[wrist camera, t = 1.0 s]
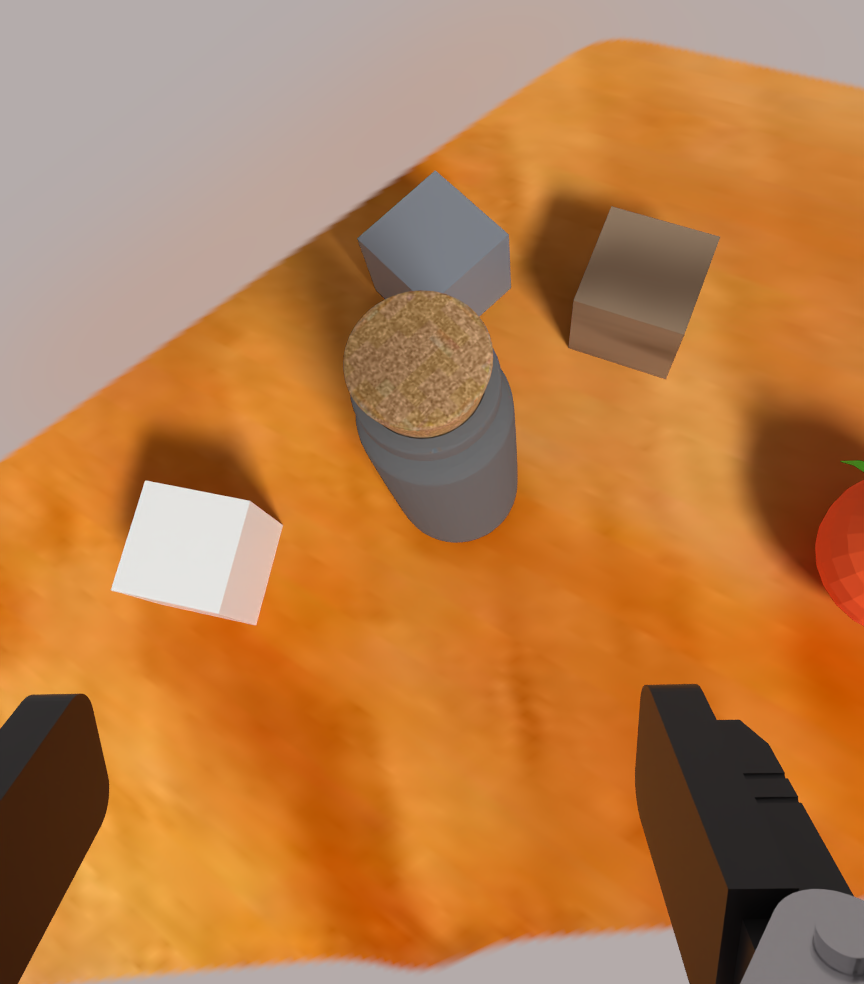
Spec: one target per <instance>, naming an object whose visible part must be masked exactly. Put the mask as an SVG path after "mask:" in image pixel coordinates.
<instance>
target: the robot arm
mask: <svg viewBox="0 0 864 984" xmlns="http://www.w3.org/2000/svg"><path fill="white" fill-rule="evenodd" d="M635 787H636V798H637V805H638V811H639V815H640V819H641V823H642V826H643V829H644V833H645V836H646V839H647V843H648V846H649V850H650V853H651V856H652V860H653V863H654V866H655V870H656V873H657V876H658V880H659V883H660V886H661V890H662V893H663V896H664V900H665V903H666V906H667V910H668V913H669V917H670V920H671V923H672V927H673V930H674V933H675V936H676V940H677V943H678V947H679V950H680V953H681V957H682V960H683V963H684V967H685V970H686V973H687V976H688V980H689V983H690V984H864V901H863V900H861V899H859V898H856V897H854V895H853V894H852V892H851V890H850V889H849V887H848V885H847V883H846V881H845V880H844V878H843V876H842V874H841V872H840V871H839V869H838V867H837V865H836V864H835V862H834V860H833V858H832V856H831V855H830V853H829V851H828V849H827V848H826V846H825V844H824V842H823V840H822V839H821V837H820V835H819V833H818V831H817V830H816V828H815V826H814V824H813V823H812V821H811V819H810V817H809V815H808V814H807V812H806V810H805V808H804V806H803V805H802V803H799V802H798V796H797V794H796V792H795V790H794V789H793V787H792V785H791V783H790V782H789V780H788V779H785V773H784V771H783V769H782V767H781V765H780V764H779V762H778V760H777V758H776V757H775V755H774V753H773V751H772V749H771V748H770V746H769V744H768V743H767V742H765V741H764V740H763V739H762V738H761V737H759V736H758V735H757V734H756V733H755V732H754V731H752V730H751V729H750V728H749V727H748V726H746V725H745V724H744V723H743V722H742V721H740V720H716V718H715V716H714V714H713V712H712V710H711V708H710V705H709V703H708V701H707V699H706V697H705V695H704V693H703V691H702V689H701V688H700V686H699V685H697V684H673V685H644V686H643V688H642V692H641V699H640V712H639V726H638V739H637V753H636V767H635ZM108 799H109V779H108V774H107V770H106V765H105V761H104V756H103V752H102V747H101V743H100V738H99V734H98V729H97V725H96V721H95V716H94V712H93V708H92V704H91V702H90V700H89V698H88V697H87V696H86V695H84V694H47V695H30V696H28V697H26V698H25V699H24V700H23V701H22V702H21V704H20V705H19V706H18V707H17V709H16V710H15V711H14V712H13V714H12V715H11V716H10V717H9V719H8V720H7V721H6V722H5V724H4V725H3V726H2V727H1V729H0V984H18V982H19V980H20V978H21V977H22V975H23V973H24V971H25V969H26V967H27V965H28V963H29V961H30V960H31V958H32V956H33V954H34V952H35V950H36V948H37V946H38V944H39V942H40V941H41V939H42V937H43V935H44V933H45V931H46V929H47V927H48V925H49V923H50V922H51V920H52V918H53V916H54V914H55V912H56V910H57V908H58V906H59V904H60V903H61V901H62V899H63V897H64V895H65V893H66V891H67V889H68V887H69V886H70V884H71V882H72V880H73V878H74V876H75V874H76V872H77V870H78V868H79V867H80V865H81V863H82V861H83V859H84V857H85V855H86V853H87V851H88V849H89V848H90V846H91V844H92V842H93V840H94V838H95V836H96V834H97V832H98V830H99V829H100V827H101V825H102V822H103V820H104V817H105V814H106V810H107V805H108Z"/></svg>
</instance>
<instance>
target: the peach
mask: <svg viewBox="0 0 864 984" xmlns="http://www.w3.org/2000/svg"><path fill="white" fill-rule="evenodd" d="M840 462H843V463H847V464H850V465H854V466H855V467H857V468H858V469H860V470H861V471H863V472H864V461H860V460H855V461H840ZM815 552H816V566H817V569H818V572H819V574H820V577H821V580H822V583H823V586H824V587H825V589H826V590H827V592H828V593H829V595H830V596H831V598H832V599H833V601H834V602H835V604H836V605H837V606H838V607H839V608H840V609H841V610H842V611H844V612H845V613H846V614H847V615H848V616H849V617H850V618H851V619H852V620H854V621H855V622H857V623H859V624H861V625H863V626H864V480H862V481H860V482H858V483H857V484H855V485H853V486H851V487H849V488H848V489H847V490H846V491H845V492H844V493H843V494H842V495H841V496H840V497H839V498H838V499H837V500H836V501H835V502H834V503H833V504H832V505H831V507H830V508H829V509H828V511H827V513H826V515H825V517H824V518H823V520H822V522H821V524H820V526H819V529H818V534H817V539H816V543H815Z"/></svg>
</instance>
